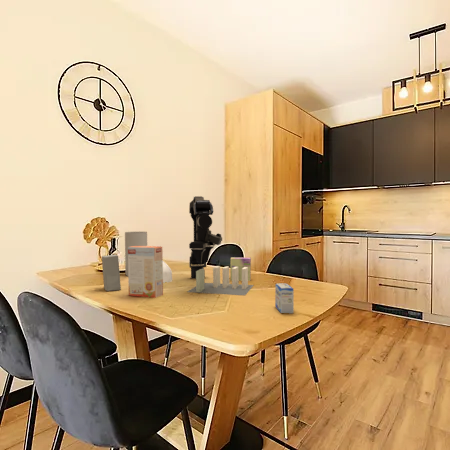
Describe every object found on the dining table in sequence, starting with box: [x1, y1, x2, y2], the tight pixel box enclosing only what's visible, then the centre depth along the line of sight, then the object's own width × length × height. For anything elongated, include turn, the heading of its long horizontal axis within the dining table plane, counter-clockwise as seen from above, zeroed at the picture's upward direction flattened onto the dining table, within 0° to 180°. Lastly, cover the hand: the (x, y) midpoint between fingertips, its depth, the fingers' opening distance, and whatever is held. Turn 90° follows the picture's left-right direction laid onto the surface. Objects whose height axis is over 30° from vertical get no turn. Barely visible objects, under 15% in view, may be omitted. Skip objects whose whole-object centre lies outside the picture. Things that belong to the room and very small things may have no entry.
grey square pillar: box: [124, 231, 148, 277], centre depth 178 cm, size 12×12×25 cm
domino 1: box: [195, 268, 205, 292], centre depth 135 cm, size 2×6×9 cm, turn 165°
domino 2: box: [212, 265, 221, 288], centre depth 143 cm, size 2×6×9 cm, turn 164°
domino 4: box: [231, 267, 240, 289], centre depth 141 cm, size 2×6×9 cm, turn 164°
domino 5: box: [241, 267, 249, 289], centre depth 139 cm, size 2×6×9 cm, turn 164°
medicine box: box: [274, 282, 295, 314], centre depth 106 cm, size 8×4×9 cm, turn 5°
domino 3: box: [221, 265, 230, 288], centre depth 142 cm, size 2×6×9 cm, turn 164°
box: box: [229, 257, 252, 282], centre depth 158 cm, size 10×6×12 cm, turn 84°
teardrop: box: [163, 260, 173, 284], centre depth 159 cm, size 11×11×12 cm
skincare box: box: [101, 254, 122, 292], centre depth 141 cm, size 8×7×16 cm
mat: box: [186, 282, 254, 296], centre depth 138 cm, size 26×20×1 cm
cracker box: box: [127, 245, 164, 299], centre depth 128 cm, size 14×6×21 cm, turn 65°
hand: (203, 263), depth 135 cm, fingers open, 9 cm apart
